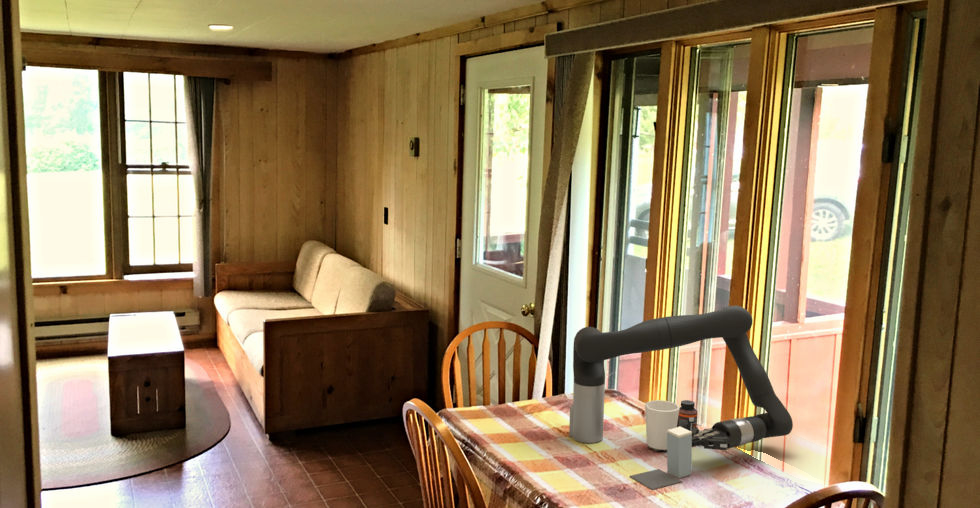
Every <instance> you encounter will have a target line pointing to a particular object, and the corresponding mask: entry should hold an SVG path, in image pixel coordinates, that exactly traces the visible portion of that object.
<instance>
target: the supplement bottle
mask: <svg viewBox="0 0 980 508" xmlns="http://www.w3.org/2000/svg"><path fill="white" fill-rule="evenodd" d="M695 407H696V406H695V401H693V400H688V399H687V400H686V399H684V400H681V401H680V406H679V415H678V421H677V427H682V428H684V429H687V430H689V431H691V432H692V430H693V428H694V427H698V410H697V409H696V408H695Z"/></svg>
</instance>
